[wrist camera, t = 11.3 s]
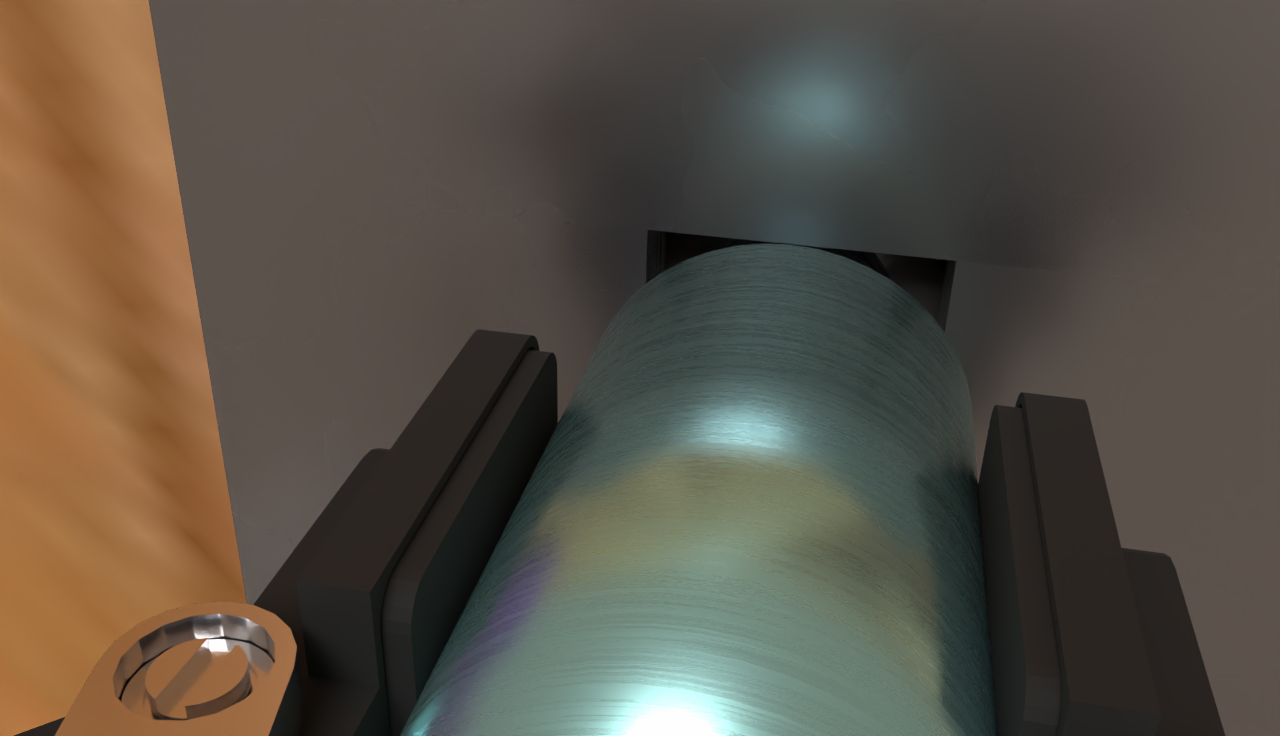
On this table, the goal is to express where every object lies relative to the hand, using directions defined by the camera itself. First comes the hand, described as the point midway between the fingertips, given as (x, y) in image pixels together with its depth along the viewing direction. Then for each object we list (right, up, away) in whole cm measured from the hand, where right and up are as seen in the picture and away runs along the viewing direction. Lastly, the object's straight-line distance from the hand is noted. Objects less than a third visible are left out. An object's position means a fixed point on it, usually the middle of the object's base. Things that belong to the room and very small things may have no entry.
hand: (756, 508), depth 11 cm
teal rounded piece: (+1, +3, +5) cm, 6 cm away
